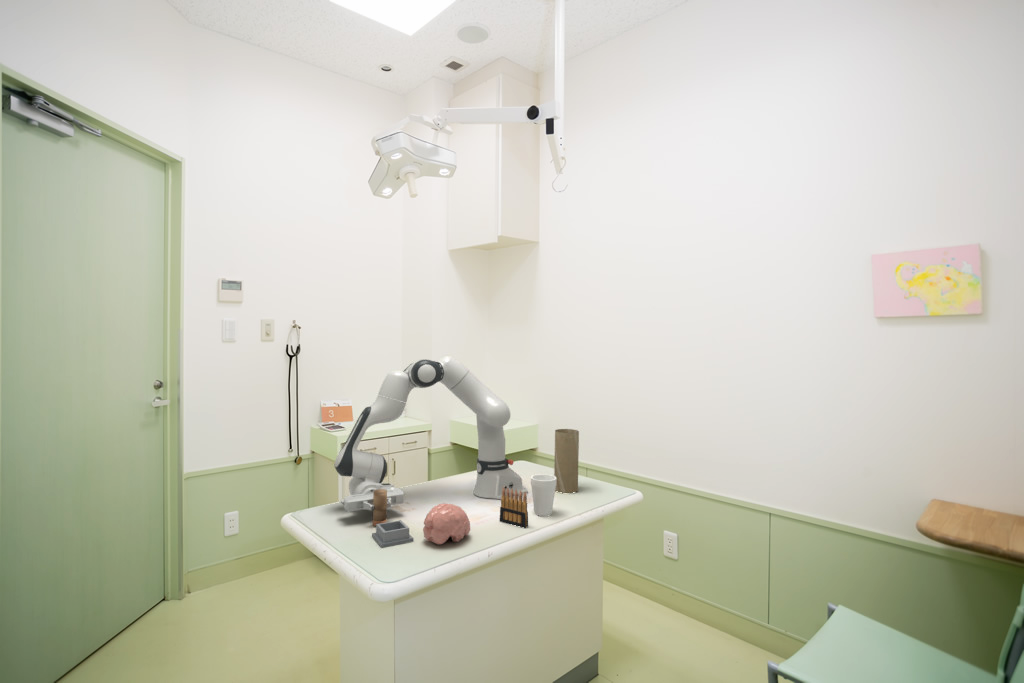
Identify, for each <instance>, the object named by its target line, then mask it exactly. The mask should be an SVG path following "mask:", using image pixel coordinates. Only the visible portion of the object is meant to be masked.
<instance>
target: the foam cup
mask: <svg viewBox="0 0 1024 683" xmlns="http://www.w3.org/2000/svg"><path fill="white" fill-rule="evenodd" d="M530 486H531V497H532V504H533V511H534V512H533V513H535V514H534V515H535V516H538V515H539V516H538V517H549V516H548V515H550V516H551V515H552V513H553V508H554V507H553V506H554V500H555V493H556V491H555V487H556V477H555V476H554V474H553V475H552V474H545V473H542V474H541V473H540V474H539V473H538V474H537V473H536V474H533V475H531V476H530Z"/></svg>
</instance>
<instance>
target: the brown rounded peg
mask: <svg viewBox="0 0 1024 683" xmlns="http://www.w3.org/2000/svg"><path fill="white" fill-rule="evenodd" d="M373 504H374V510H372V526H374V527H376V524H381V523H386V522H388V518H387V513H388V511H387V510H388V508H387V490H385V489H377V490H374V493H373Z"/></svg>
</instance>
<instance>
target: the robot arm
mask: <svg viewBox="0 0 1024 683" xmlns="http://www.w3.org/2000/svg"><path fill="white" fill-rule="evenodd" d="M437 383H441V384H442V385H444V386H445V387H446V388H447V390H449V391H450V392H451V393H452V394H453V395H454V396H455V397H456V398H458V399H459V400H460V401H461V402H462V403H463V404H464V405H465V406H466V407H467V408H468V409H469V410H471V411H472V412H473V413H475V415H476V428H477V437H478V440H477V441H478V445H477V446H478V447H477V449H478V452H477V454H478V455H477V456H478V457H477V458H476V473H477V474H476V481H475V486H474V489H473V495H474V496H476V497H480V498H485V499H497V500H501V498H502V489H503V487H504V488H505V497H506V491H507V488H509V496H510V492H511V489H513V493H514V495H515V490H516V489H517V492H518V496H519V492H520V490H521V492H522V495H524V492H526V494H527V493H528V488H527V487H526V486H524V485H523V481H522V477H521V475H520V474H518V473H517V472H516V471H514V470H513V469H512V468H511V467H510V466H512V465H513V464H514V460H513V459H507V458H506V437H505V431H504V427H505V425H507V424H508V422H509V421H510V420H511V410H510V408H509V405H508V404H507V403H506V402H504V400H503V399H501V397H499V396H498V395H497V394H496V393H495V392H494V391H492V390H491V389H490V388H489V387H488V386H486V385H485V383H483V382H482V381H481V380H479V378H477V376H476V375H474V373H472V372H471V371H470V369H468V368H467V367H466V366H465V365H464V364H462V363H461V362H460V361H459V360H457V359H456V358H454V357H453V356H450V355H446V356H442V357H441V358H439V359H438V360H437V361H435V360H431V359H417V360H414V361H413V362H411V363H410V364H409V365H408V366H406V368H405V369H404V370H399V369H397V370H391V371H389V372H387V374H386V376H385V378H384V380H383V381H382V384H381V385H380V389H379V391H378V393H377V396H376V398H375V401H374V402H373V403H372V404H371V405H370V406H366V407H365V408H364V409H363V410H362V412H361V413H360V415H359V417H358V418H357V420H356V421H355V424H354V426H353V427H352V429H351V431H350V433H349V435H348V437H347V439H346V441H345V442H344V445H342V447H341V449H340V451H339V452H338V454H337V456H336V458H335V460H334V461H335V462H334V469H335V470H336V473H338V475H339V476H340V477H350V478H351V479H350V480H349V482H348V492H349V495H345V497H344V498H342V499H340V504H341V505H344V506H343V509H344V510H345V512H348V513H349V512H350V513H351V512H357V511H362V510H363V511H365V510H368V511H373V510H374V504H373V493H374V490H377V489H385V490H387V509H389V508H392V506H393V505H399V504H404V502H405V492H404V491H403V490H402V489H400V488H399V487H396V486H395V484H394V483H385V482H384V480H385V477H386V475H387V472H388V471H387V470H388V463H387V460H386V459H385V456H383V455H382V454H379V453H375V452H368V451H363V450H359V449H358V447H359V445H360V443H361V441H362V439H363V437H364V435H365V434H366V431H367V430H368V429H369V428H370V427H372V426H375V425H378V424H384V423H391V422H394V421H396V420H398V419H399V418H400V417H401V416H402V415H403V412H404V411H405V407H406V406H407V401H408V398H409V395H410V393H411V391H412V390H413V389H414V388H417V389H418V388H419V389H426V388H430V387H432V386H435V384H437ZM509 465H510V466H509ZM382 482H383V483H382Z"/></svg>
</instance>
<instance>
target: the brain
mask: <svg viewBox="0 0 1024 683" xmlns="http://www.w3.org/2000/svg"><path fill="white" fill-rule="evenodd" d="M423 525H424V527H423V528H422V531H423V532H422V533H423V538H424V539H425V540H427V541H428V542H431V543H434V544H435V545H443V544H444V543H445V542H447V541H448V540H449V538H451V540H452V542H454V543H458V542H460V541H461V540H462V539H463V538H464V536H467V535H469V533H470V532H471V522H470V519H469V517H468V515H467V513H466V511H465V510H464V509H462V507H460V506H458V505H455V504H453V503H438V504H437V505H435V506H433V507H432V508H431V509H430V510H429V511H428V513H427V514H426V516H425V518H424V521H423Z"/></svg>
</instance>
